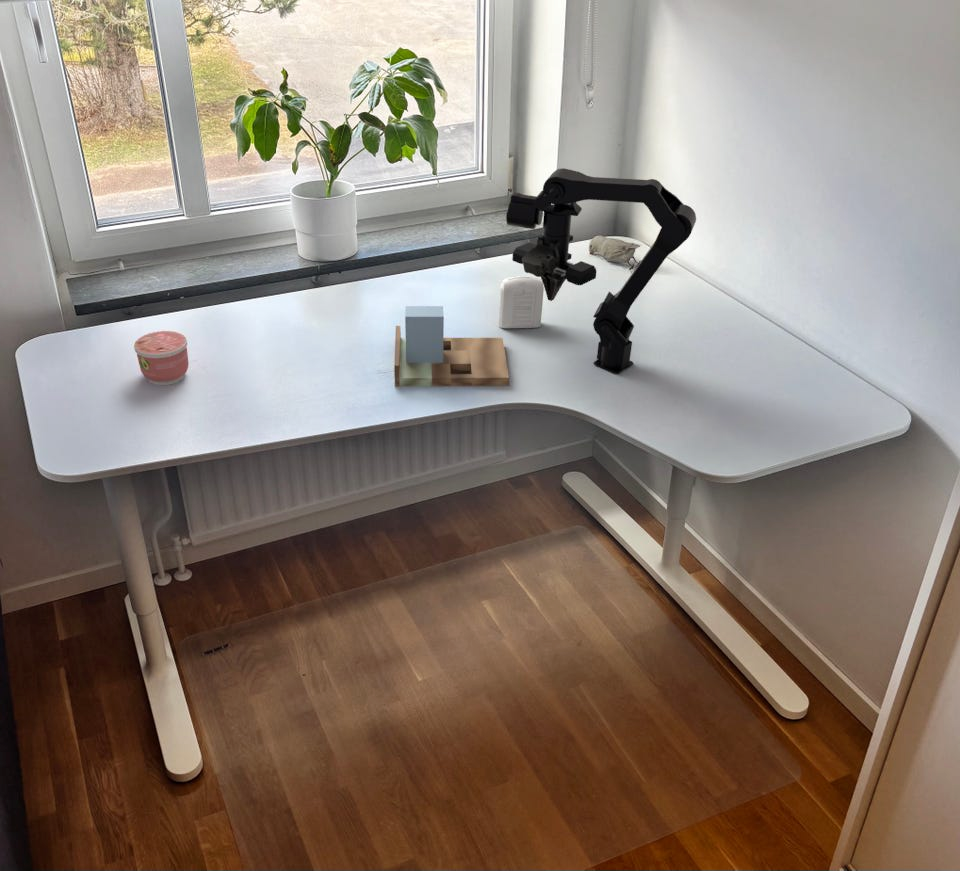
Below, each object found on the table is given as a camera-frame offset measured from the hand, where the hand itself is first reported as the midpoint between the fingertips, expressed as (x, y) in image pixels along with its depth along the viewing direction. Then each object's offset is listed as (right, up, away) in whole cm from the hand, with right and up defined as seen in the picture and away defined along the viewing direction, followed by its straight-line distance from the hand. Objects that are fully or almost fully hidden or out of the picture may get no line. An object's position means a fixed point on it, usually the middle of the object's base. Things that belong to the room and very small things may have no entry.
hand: (550, 299), depth 207 cm
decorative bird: (+21, +17, +51) cm, 58 cm away
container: (-82, -17, -6) cm, 84 cm away
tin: (-27, -12, 0) cm, 30 cm away
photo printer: (-6, -4, +18) cm, 20 cm away
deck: (-21, -14, +1) cm, 25 cm away
